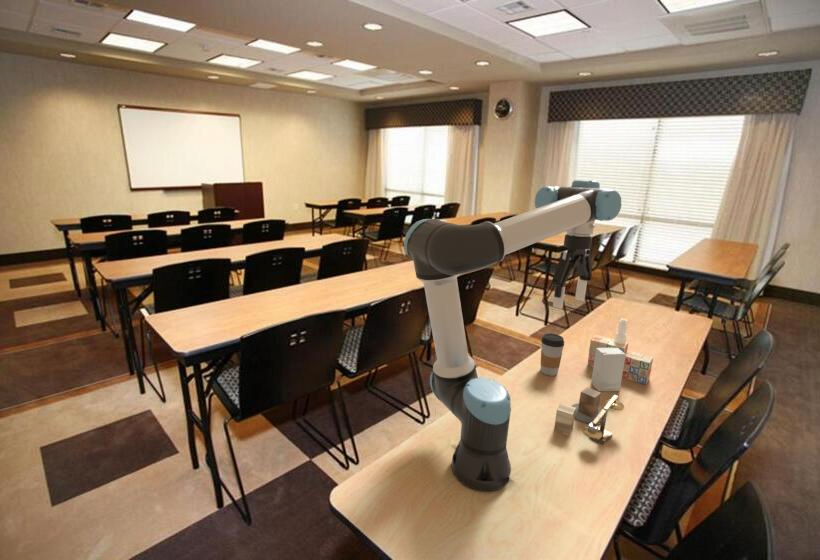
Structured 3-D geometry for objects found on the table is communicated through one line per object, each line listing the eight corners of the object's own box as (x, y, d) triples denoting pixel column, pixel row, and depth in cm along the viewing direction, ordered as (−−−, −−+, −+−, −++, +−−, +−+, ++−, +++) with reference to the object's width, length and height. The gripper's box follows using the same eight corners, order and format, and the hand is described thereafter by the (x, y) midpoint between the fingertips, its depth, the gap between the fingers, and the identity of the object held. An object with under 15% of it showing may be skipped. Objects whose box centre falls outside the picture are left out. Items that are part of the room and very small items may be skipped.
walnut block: (577, 411, 130) (580, 391, 128) (584, 406, 133) (587, 387, 131) (591, 417, 127) (594, 397, 125) (597, 412, 129) (601, 392, 128)
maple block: (569, 435, 119) (572, 414, 117) (553, 430, 122) (556, 409, 120) (573, 428, 123) (576, 407, 121) (557, 423, 125) (560, 402, 123)
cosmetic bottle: (623, 376, 157) (633, 323, 152) (606, 372, 160) (615, 320, 154) (622, 370, 162) (632, 318, 157) (606, 366, 165) (614, 315, 159)
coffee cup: (561, 379, 153) (566, 342, 149) (538, 376, 154) (543, 340, 151) (558, 369, 161) (563, 334, 157) (536, 367, 162) (540, 332, 159)
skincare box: (611, 383, 151) (618, 346, 147) (620, 392, 145) (627, 354, 141) (589, 383, 151) (595, 346, 147) (597, 392, 145) (603, 353, 141)
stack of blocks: (649, 379, 155) (655, 349, 151) (645, 385, 150) (651, 355, 147) (592, 361, 168) (595, 334, 165) (586, 366, 164) (590, 339, 160)
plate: (595, 428, 123) (595, 424, 123) (564, 413, 130) (564, 410, 130) (609, 416, 130) (609, 413, 129) (578, 403, 137) (579, 400, 136)
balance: (595, 454, 111) (601, 418, 108) (577, 445, 115) (583, 410, 112) (622, 428, 123) (628, 396, 120) (605, 421, 127) (611, 389, 124)
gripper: (569, 239, 108) (559, 314, 113) (610, 233, 124) (599, 299, 129) (544, 235, 113) (535, 307, 118) (586, 230, 129) (577, 294, 135)
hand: (568, 303), depth 124 cm, fingers open, 13 cm apart
